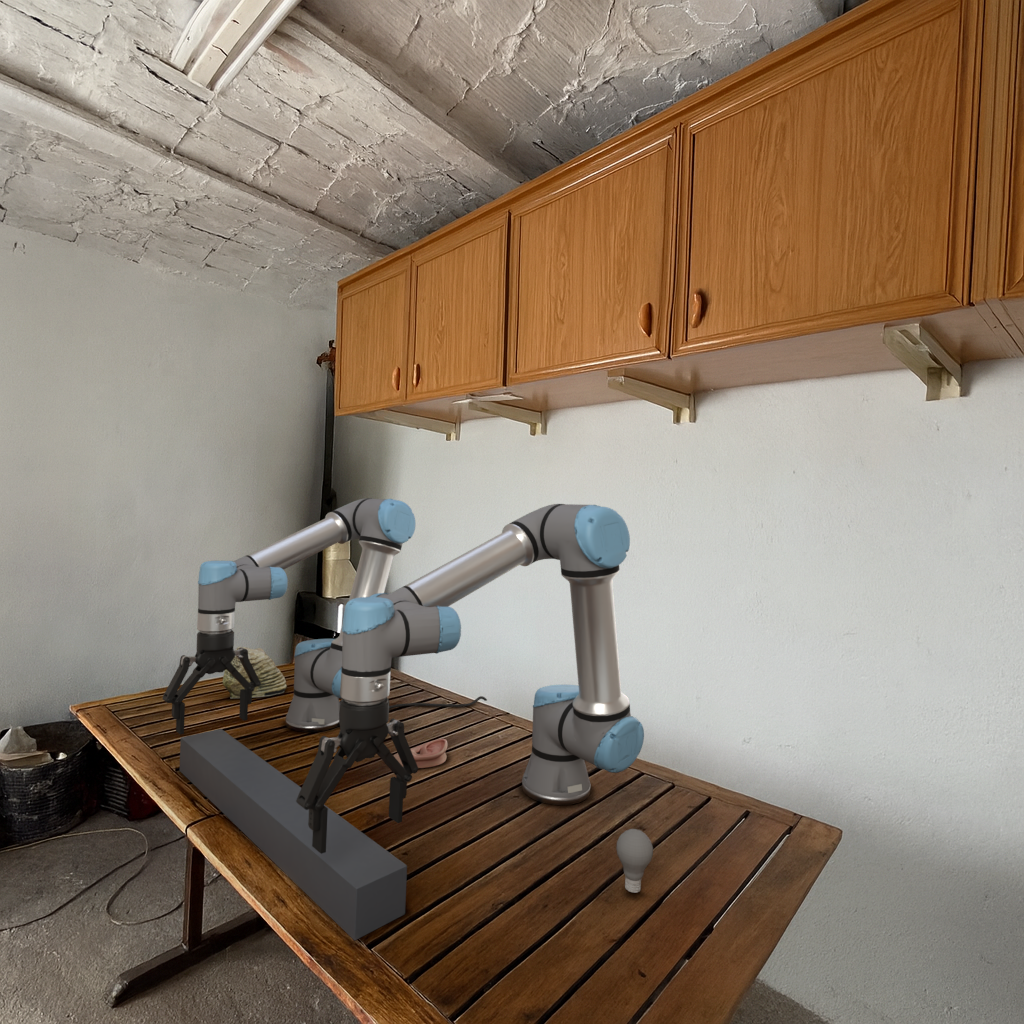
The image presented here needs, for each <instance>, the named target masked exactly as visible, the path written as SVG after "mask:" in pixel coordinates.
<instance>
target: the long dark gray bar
mask: <svg viewBox="0 0 1024 1024" xmlns="http://www.w3.org/2000/svg"><path fill="white" fill-rule="evenodd" d="M179 742H180V743H179V745H180V746H179V750H180V751H179V772H180V773H181V774H182V775H183V776H184V777H185V778H186V779H187V780H189V782H190V783H191V784H192V785H194V786H195V787H196V789H198V790H199V791H200V792H201V793H202V794H203V795H204V796H205V797H206V798H207V800H209V801H210V802H211V803H212V804H213V805H214V806H215V807H216V808H217V809H218V810H219V811H220V812H222V814H224V816H226V817H227V819H229V820H230V821H231V822H232V823H233V824H234V825H235V826H236V828H238V829H239V830H240V831H241V832H242V833H243V834H244V835H245V836H246V837H247V838H248V839H249V840H250V841H251V842H252V843H253V844H255V845H256V847H257V848H258V849H260V850H261V851H262V852H263V853H264V854H265V855H266V856H267V857H268V858H269V859H270V860H271V861H272V862H273V863H274V864H275V865H276V866H277V867H278V868H279V869H280V870H281V871H282V872H283V873H284V874H285V875H286V876H287V877H289V879H290V880H291V881H292V882H293V883H294V884H296V886H297V887H298V888H299V889H301V890H302V891H303V892H304V893H305V894H306V895H307V896H308V898H310V899H311V900H312V901H313V902H314V903H315V904H316V905H317V906H318V907H319V908H320V909H321V910H322V911H323V912H325V914H326V915H327V916H328V917H329V918H331V920H333V922H335V923H336V924H337V925H338V927H340V928H341V929H342V930H343V931H344V932H345V933H346V934H347V935H348V936H349V937H350V938H351V939H352V940H353V941H357V940H359V939H361V938H362V937H364V936H366V935H368V934H370V933H372V932H375V931H376V930H378V929H380V928H381V927H384V926H385V925H387V924H390V923H392V922H394V921H395V920H397V919H399V918H401V917H402V916H404V915H405V914H406V906H407V905H406V901H407V878H408V865H407V864H406V863H404V862H403V861H402V860H400V859H399V858H397V857H396V856H395V855H393V854H392V853H391V852H390V851H388V850H387V849H385V848H384V847H383V846H381V845H380V844H378V842H376V841H374V840H373V839H372V838H370V837H369V836H368V835H366V834H365V833H364V832H362V831H361V830H360V829H358V828H356V826H354V825H352V824H351V823H350V822H349V821H347V820H346V819H344V817H342V816H340V815H339V814H338V813H336V812H335V811H334V810H333V809H331V808H329V806H327V805H326V804H324V806H325V807H327V808H328V815H327V838H326V852H325V853H322V854H321V853H320V852H318V851H317V850H316V849H315V848H314V847H312V839H313V830H312V829H310V828H309V826H308V819H309V809H308V810H306V809H304V808H303V807H302V806H300V805H299V804H298V803H297V802H296V800H297V797H298V795H299V793H300V790H301V788H302V786H300V785H299V784H297V783H296V782H294V781H293V780H291V779H290V778H289V777H287V776H286V775H284V774H283V773H282V772H281V771H279V770H278V769H277V768H275V767H274V766H272V765H271V764H270V763H268V762H267V761H266V760H264V759H263V758H262V757H260V756H259V755H258V754H257V753H255V752H254V751H252V749H250V748H248V747H246V746H245V745H244V744H243V743H242V742H240V741H238V740H237V739H236V738H235V737H233V736H232V735H230V734H229V733H228V732H226V731H225V730H223V729H222V728H218V729H214V730H213V729H212V730H209V731H204V732H200V733H199V732H198V733H195V734H190V735H186V736H181V737H180V741H179Z"/></svg>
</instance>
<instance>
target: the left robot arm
mask: <svg viewBox="0 0 1024 1024" xmlns="http://www.w3.org/2000/svg"><path fill="white" fill-rule="evenodd" d="M416 526H417V525H416V517H415V513H414V512H413V510H412V508H411V507H410V506H409V504H407V503H406V502H404V501H402V500H398V499H393V498H372V497H367V498H365V497H363V498H360V499H356V500H354V501H352V502H349V503H346V504H345V505H343V506H340V507H338V508H336V509H334V510H332V511H329V512H327V514H326V515H325V517H324V518H323V519H321V520H319V521H317V522H315V523H312V524H311V525H309V526H306V527H304V528H302V529H300V530H298V531H295V532H293V533H291V534H288V535H287V536H285V537H282V538H281V539H279V540H276V541H274V542H272V543H270V544H268V545H266V546H263V547H262V548H259V549H257V550H255V551H253V552H250V553H249V554H247V555H244V556H242V557H239V558H237V559H235V560H207V561H204V562H202V563H201V564H200V566H199V571H198V581H197V584H198V586H197V587H198V591H197V593H198V595H197V597H198V598H197V599H198V600H197V602H198V603H197V622H196V624H197V625H196V630H198V632H197V633H196V653H195V655H193V656H192V655H185V654H182V655H181V656H180V658H179V665H178V667H177V669H176V671H175V673H174V675H173V677H172V679H171V680H170V682H169V684H168V686H167V687H166V690H165V692H164V693H163V695H162V700H163V701H164V702H165V703H167V704H171V717H172V719H174V720H176V721H175V732H176V733H177V734H179V735H184V734H185V715H186V714H185V712H186V703H185V702H183V701H184V700H185V698H186V697H187V696H188V694H189V693H190V692H191V691H192V690H193V688H194V687H195V686H196V685H197V683H198V682H199V681H200V680H201V679H203V677H204V676H206V674H207V675H213V674H216V673H224V672H225V670H227V671H228V672H229V673H230V674H231V675H232V676H233V677H234V678H235V679H236V680H237V681H238V682H239V683H240V684H241V685H242V686H243V687H244V688H245V689H241V690H240V698H239V711H238V712H239V713H238V714H239V716H238V717H239V718H240V719H241V720H242V721H243V722H245V721H248V714H249V705H252V702H253V699H252V698H253V697H252V692H253V691H254V689H255V687H259V686H260V685H261V682H260V680H259V678H258V676H257V674H256V672H255V670H254V668H253V666H252V664H251V662H250V660H249V658H248V650H247V649H245V648H242V647H243V646H239V647H240V648H239V649H238V650H236V649H234V646H235V631H234V630H233V629H234V628H235V621H236V620H235V619H236V617H235V616H236V603H242V602H253V601H264V600H265V601H266V600H268V601H271V600H273V599H274V600H275V599H280V598H282V597H283V596H284V595H285V594H286V593H287V590H288V584H289V583H288V582H289V581H288V576H287V573H286V571H285V570H286V569H288V568H290V567H292V566H293V565H296V564H298V563H300V562H302V561H304V560H306V559H308V558H310V557H312V556H314V555H316V554H318V553H320V552H322V551H323V550H325V549H328V548H330V547H333V546H334V545H336V544H341V545H344V544H346V543H347V542H350V541H353V540H358V543H359V545H360V547H361V553H360V558H359V561H358V565H357V569H356V573H355V576H354V580H353V583H352V587H351V591H350V595H349V599H348V601H350V600H351V599H354V598H360V597H370V596H372V595H374V594H377V593H385V591H386V588H387V583H388V579H389V575H390V571H391V569H392V564H393V560H394V557H395V556H396V555H398V554H400V553H401V552H402V547H403V545H404V544H405V543H407V542H408V541H409V540H410V539H412V538H413V536H414V534H415V531H416ZM342 627H343V623H342V624H341V628H340V631H339V636H337V637H336V638H318V639H308V640H304V641H300V642H299V643H297V644H296V646H295V650H294V655H293V657H294V672H293V673H294V674H293V695H292V696H293V697H292V699H291V702H290V704H289V708H288V711H287V713H286V715H285V726H286V728H287V729H289V730H291V731H294V732H295V731H296V732H301V733H316V732H325V731H329V730H332V729H335V728H337V727H340V724H339V711H340V699H341V700H342V698H341V697H340V686H341V670H342V644H343V632H342ZM235 656H237V658H239V659H240V661H241V663H242V665H243V667H244V669H245V671H246V673H247V675H248V677H249V679H250V681H251V682H248V681H247V680H246V679H245V678H244V677H243V676H242V675H241V674H240V673H239V672H238V671H237V669H236V668H235V667H234V666H233V665H232V664H231V662H232V660H233V659H234V657H235ZM193 663H195V664H196V667H194V668H193V670H192V672H191V674H190V675H189V676H188V677H187V679H186V680H185V681H184V679H185V677H186V675H187V673H188V672H189V669H190V667H191V666H192V665H193ZM183 681H184V683H183ZM480 700H483V701H484V702H485V701H488V699H487V698H486V697H485V696H482V695H480V696H478V697H477V698H475V699H474V700H472V701H471V702H468V703H458V704H457V703H455V704H454V703H428V702H409V703H408V702H407V703H398V704H393V705H389V710H390V709H396V708H403V707H434V708H435V707H439V708H440V707H441V708H466V707H470V706H473V705H474V704H476V703H477V702H479V701H480Z"/></svg>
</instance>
